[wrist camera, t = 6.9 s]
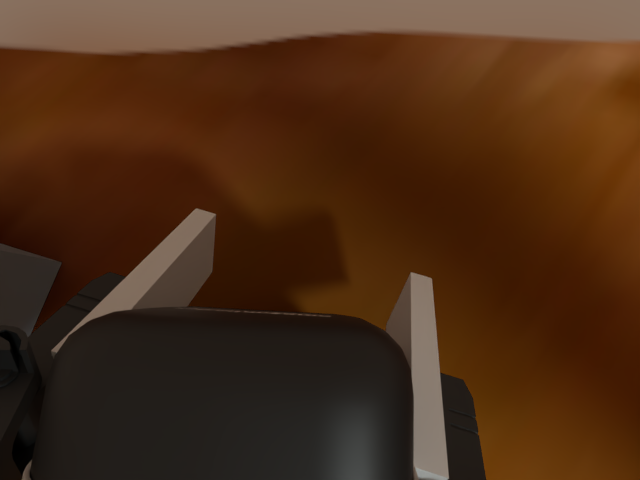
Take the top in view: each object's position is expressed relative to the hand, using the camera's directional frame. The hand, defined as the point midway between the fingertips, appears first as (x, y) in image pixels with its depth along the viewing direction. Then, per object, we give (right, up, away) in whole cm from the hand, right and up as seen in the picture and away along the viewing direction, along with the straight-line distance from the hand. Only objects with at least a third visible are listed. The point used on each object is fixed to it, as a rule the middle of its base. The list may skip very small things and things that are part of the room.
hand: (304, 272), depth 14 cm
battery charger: (-1, -4, +3) cm, 5 cm away
